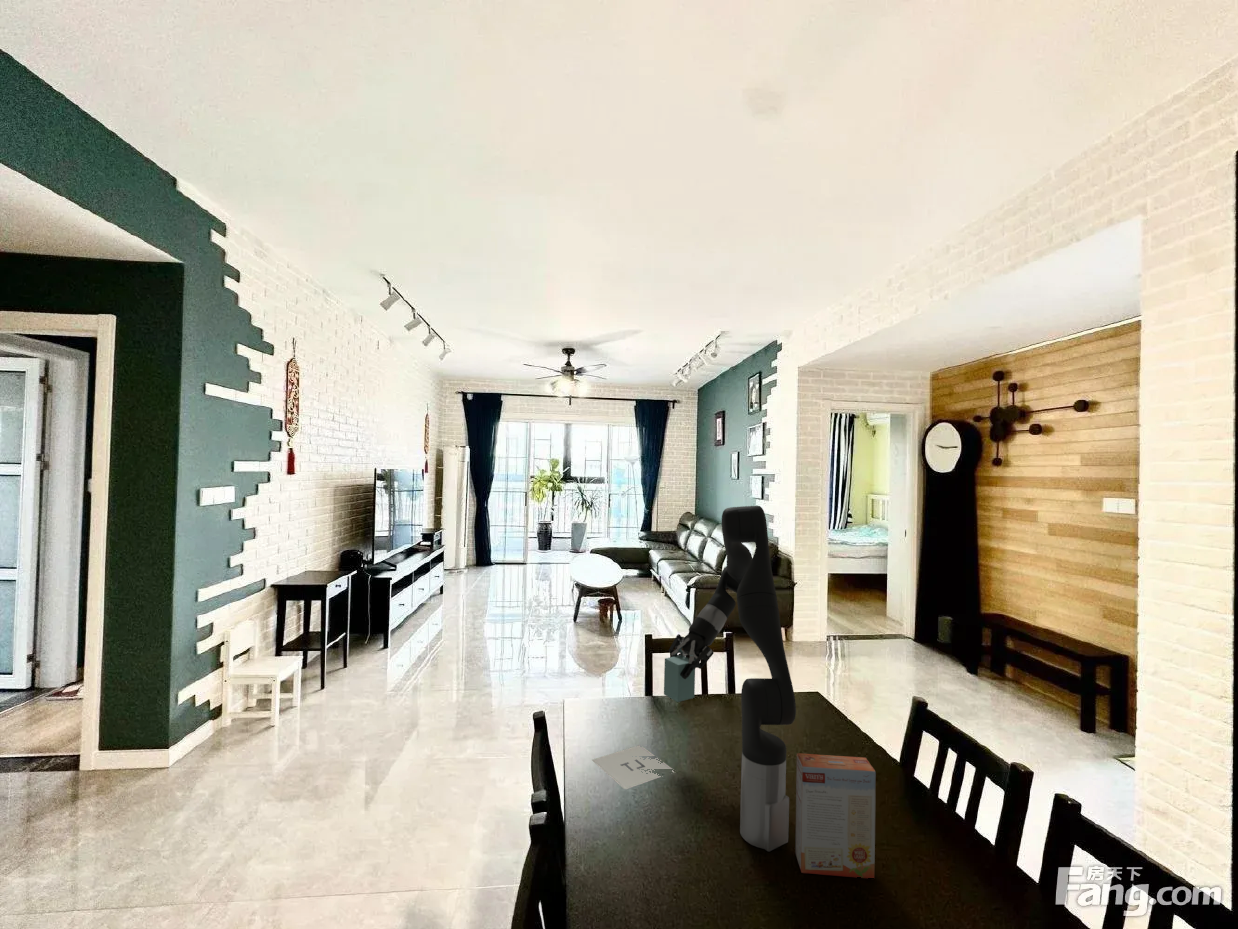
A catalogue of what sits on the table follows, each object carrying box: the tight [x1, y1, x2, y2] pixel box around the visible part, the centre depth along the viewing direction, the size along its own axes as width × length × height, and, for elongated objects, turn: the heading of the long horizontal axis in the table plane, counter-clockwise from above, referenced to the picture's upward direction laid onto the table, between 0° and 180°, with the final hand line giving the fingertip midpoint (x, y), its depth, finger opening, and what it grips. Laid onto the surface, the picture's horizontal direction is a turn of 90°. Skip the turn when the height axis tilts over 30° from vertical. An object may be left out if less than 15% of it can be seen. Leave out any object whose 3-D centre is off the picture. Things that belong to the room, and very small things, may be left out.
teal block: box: [663, 655, 696, 703], centre depth 155 cm, size 6×6×10 cm
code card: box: [591, 744, 675, 790], centre depth 146 cm, size 16×16×1 cm
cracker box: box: [795, 752, 877, 879], centre depth 111 cm, size 14×6×21 cm, turn 84°
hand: (674, 673), depth 154 cm, fingers closed on teal block, 6 cm apart
